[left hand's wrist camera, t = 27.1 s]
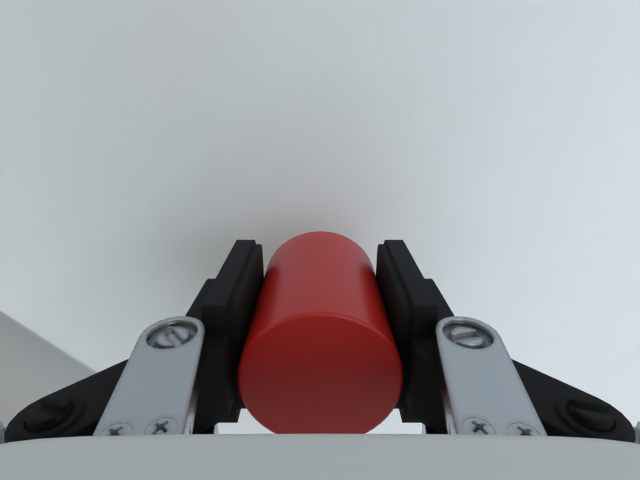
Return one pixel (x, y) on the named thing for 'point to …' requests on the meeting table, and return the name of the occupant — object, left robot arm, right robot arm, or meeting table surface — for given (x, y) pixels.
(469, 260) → the meeting table surface
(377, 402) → the red cylinder
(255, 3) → the meeting table surface
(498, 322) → the meeting table surface
